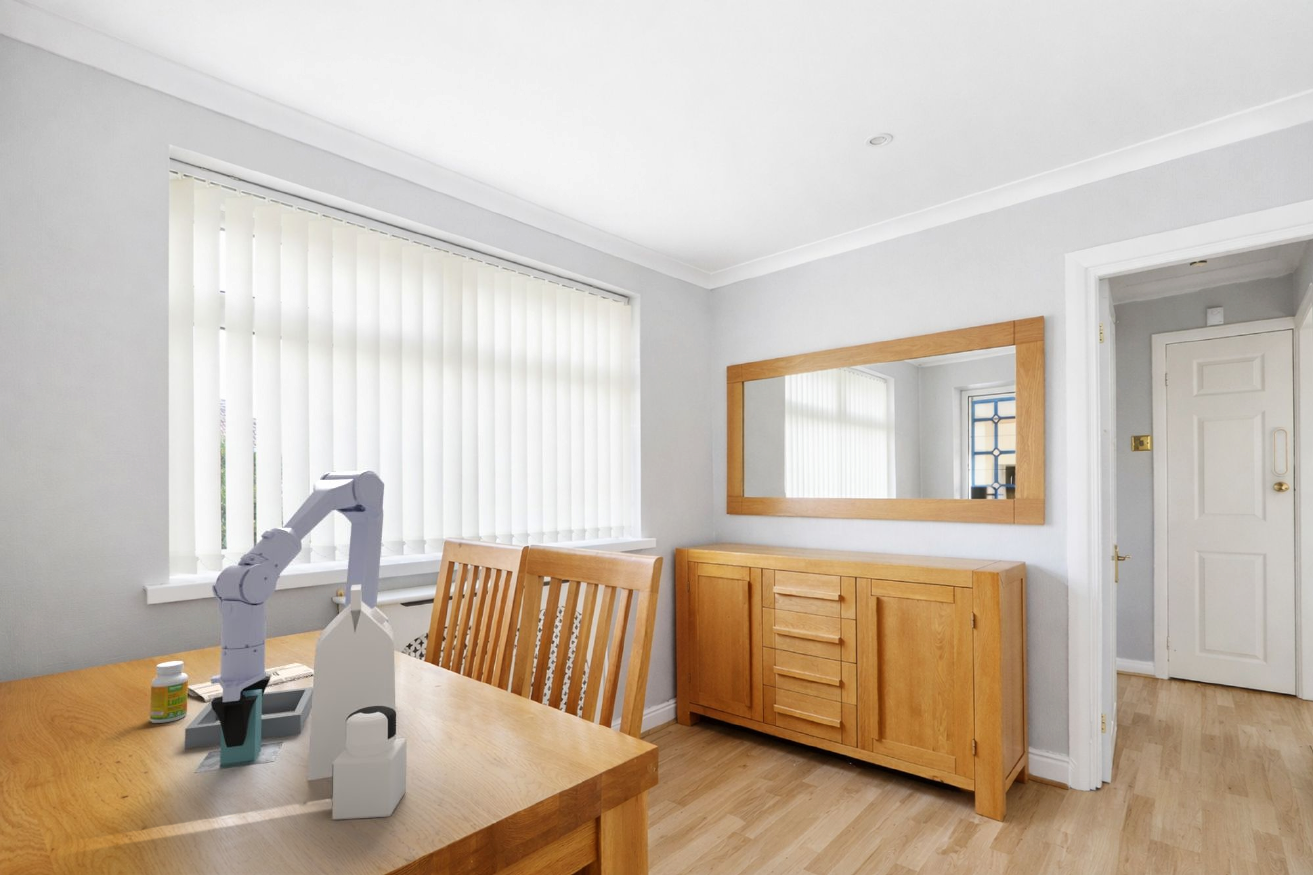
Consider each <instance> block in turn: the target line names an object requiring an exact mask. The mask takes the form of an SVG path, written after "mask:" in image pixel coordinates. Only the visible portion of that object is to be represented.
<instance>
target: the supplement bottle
mask: <svg viewBox="0 0 1313 875" xmlns="http://www.w3.org/2000/svg"><path fill="white" fill-rule="evenodd" d="M184 664H185V663H184V661H182V660H172V661H165V662H162V663H159V664H157V665H156V669H155V670H156V671H155V672H156V674H157V676H156V677H154V678H153V679H152V680H151V684H150V712H149V713H150V714H149V721H150V722H151V723H152V724H165V723H172V722H175V721H179V720H181V719H183V718H185V717H186V716H187V714H188V695H189V693H188V686H189V685H188V684H189V676H188V675H187V673H184V672H183V670H184V666H185V665H184Z"/></svg>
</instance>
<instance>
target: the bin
mask: <svg viewBox="0 0 1313 875" xmlns="http://www.w3.org/2000/svg"><path fill="white" fill-rule="evenodd" d="M312 695H313V686H311V687H310V686H309V687H302V688H292V689H284V690H275V691H274V690H273V691H266V692H265V691H264V694H263V697H262V717H261V740H263V739H269V738H277V737H284V736H293V735H299V734H301V733H302V731H303V730H304V729H303V728H304V727H305V724H306V722H307V720H308V717H309V715H310V714H311V711H312ZM213 699H214V698H213ZM213 699H212V700H213ZM212 700H211V701H212ZM211 701H209V702H208V704H206V706H205V707H203V709H202V710H201V711H200V712H199V714H197V715H196V716H195V718H194V719H192V721H191V722H190V723H189V724H188V725H187V726H186V728H184V729H185V731H184V733H185V734H184V736H185V737H184V750H186V749H187V750H189V749H194V748H202V747H208V746H217V745H221V723H220V721H219V718H218V716H217V715H216V713H215V712H214V710H213V709H212V706H211ZM287 712H293V713H287ZM278 713H282V714H278ZM284 713H285V714H284ZM271 714H274V715H271ZM275 714H276V715H275ZM263 715H268V716H263ZM217 721H219V722H217Z"/></svg>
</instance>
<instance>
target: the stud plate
mask: <svg viewBox="0 0 1313 875" xmlns="http://www.w3.org/2000/svg"><path fill="white" fill-rule="evenodd" d="M283 744H284V741H279V742H272V743H271V742H270V743H264V744H261V749H260V751H259V753H258V755H257V756H256V758H255V760H248V761H241V762H234V763H227V764H220V750H221V749H220V750H214V751H209V752H208V753H207V755H206V756H205V757H204V758H203V760H202V761H201V762H200V764H199V765H198V767H197V768H196V769H195V771H194V772H193V773H194V774H199V773H203V772H204V773H205V772H211V771H216V770H224V769H232V768H240V767H245V766H252V765H258V764H259V765H260V764H266V763H267V764H268V763H273V762H275V761H276V758H277V756H278V755H279V752H280V750H281V749H282V746H283Z"/></svg>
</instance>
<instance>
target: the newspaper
mask: <svg viewBox="0 0 1313 875" xmlns="http://www.w3.org/2000/svg"><path fill="white" fill-rule="evenodd" d="M265 670H266V676H270V681H269V683H268V685H267V687H266V688H269V686H270V687H273V686H272V685H274V686H277V684H278V685H280V684H279V683H282V684H285V682H286V683H288V682H287V681H290V682H293V681H292V680H294V681H296V680H295V679H298V680H301V679H300V678H302V677H306V678H309V677H308V676H310V675H314V669H312V668H310V667H309V666H307V665H305V664H301V663H299V662H295V663H290V664H285V665H280V666H276V667H271V668H265ZM310 677H311V676H310ZM302 679H303V678H302ZM188 695H190V696H191V697H200V696H201V697H202V698H203V700H204V703H207V702H208V703H209V702H210V701H211V700H212V699H213V698H218V697H223V688H222V687H221V685H220V684H219V683H211V680H210V681H206V682H202V683H201V682H200V683H196V684H190V685H188Z"/></svg>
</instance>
